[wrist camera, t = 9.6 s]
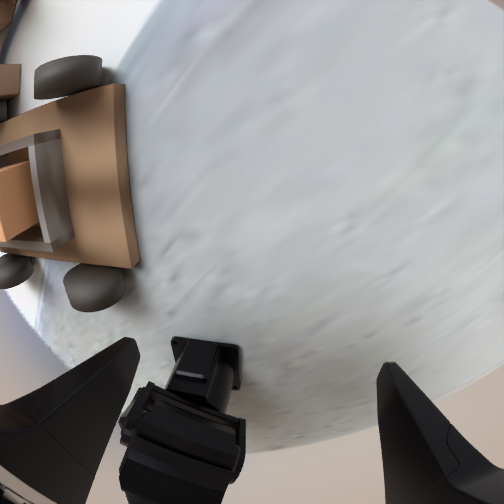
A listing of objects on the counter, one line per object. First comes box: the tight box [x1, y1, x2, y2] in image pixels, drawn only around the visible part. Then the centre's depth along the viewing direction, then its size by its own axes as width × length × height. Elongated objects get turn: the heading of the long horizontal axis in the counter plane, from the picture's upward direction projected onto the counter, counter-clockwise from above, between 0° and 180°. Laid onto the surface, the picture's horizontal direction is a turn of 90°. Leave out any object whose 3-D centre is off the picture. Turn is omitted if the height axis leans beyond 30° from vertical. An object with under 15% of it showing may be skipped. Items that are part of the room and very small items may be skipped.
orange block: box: [0, 160, 40, 242], centre depth 17 cm, size 5×5×6 cm
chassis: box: [0, 55, 140, 312], centre depth 18 cm, size 18×20×6 cm
